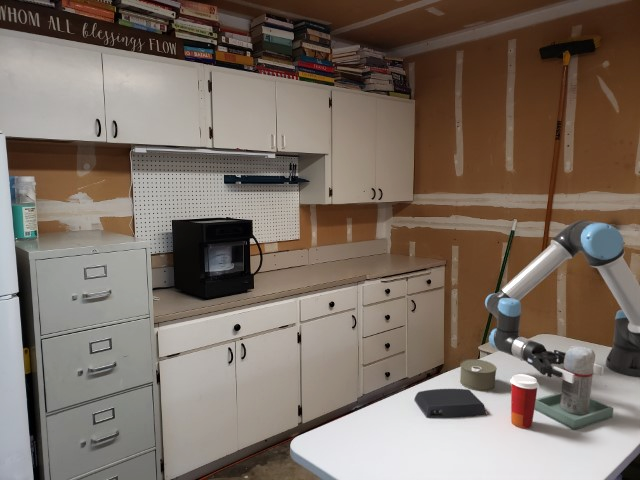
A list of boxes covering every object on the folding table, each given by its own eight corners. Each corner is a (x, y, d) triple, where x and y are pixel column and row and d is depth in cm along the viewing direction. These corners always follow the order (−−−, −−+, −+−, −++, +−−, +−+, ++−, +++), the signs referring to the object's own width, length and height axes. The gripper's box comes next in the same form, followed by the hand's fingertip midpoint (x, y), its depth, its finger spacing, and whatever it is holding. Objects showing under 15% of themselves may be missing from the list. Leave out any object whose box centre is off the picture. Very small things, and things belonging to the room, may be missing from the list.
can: (498, 382, 168) (499, 363, 167) (490, 395, 158) (492, 375, 157) (464, 374, 175) (465, 356, 174) (455, 386, 164) (456, 367, 164)
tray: (570, 397, 157) (571, 389, 156) (612, 417, 144) (613, 408, 144) (532, 408, 149) (533, 399, 148) (573, 430, 136) (574, 420, 136)
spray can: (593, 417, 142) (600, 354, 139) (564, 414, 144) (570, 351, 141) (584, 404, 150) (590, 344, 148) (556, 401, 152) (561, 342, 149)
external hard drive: (412, 400, 154) (413, 388, 154) (469, 397, 157) (469, 386, 156) (426, 420, 141) (427, 407, 141) (487, 417, 144) (488, 404, 143)
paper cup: (534, 419, 142) (537, 375, 140) (536, 432, 135) (540, 386, 133) (506, 415, 144) (509, 371, 143) (507, 427, 137) (510, 381, 135)
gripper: (553, 356, 167) (612, 379, 148) (502, 367, 156) (559, 394, 137) (555, 335, 166) (615, 356, 147) (503, 345, 155) (561, 369, 136)
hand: (588, 375), depth 142 cm, fingers open, 13 cm apart
